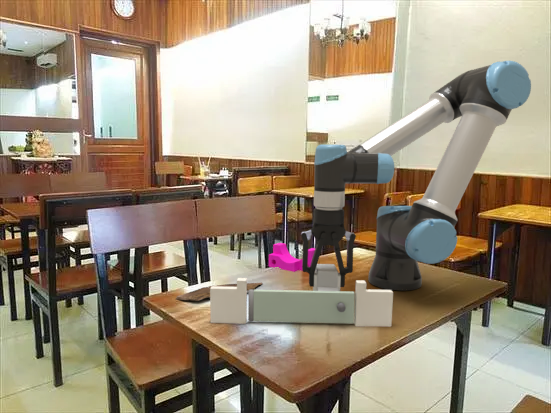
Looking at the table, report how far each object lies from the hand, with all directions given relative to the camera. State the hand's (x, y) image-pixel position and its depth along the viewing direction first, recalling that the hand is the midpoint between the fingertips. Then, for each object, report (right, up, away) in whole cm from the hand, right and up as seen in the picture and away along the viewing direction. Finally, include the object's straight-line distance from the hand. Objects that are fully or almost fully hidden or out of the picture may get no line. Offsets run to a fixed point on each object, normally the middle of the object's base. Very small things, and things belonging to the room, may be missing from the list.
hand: (326, 298), depth 106 cm
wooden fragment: (-24, -2, +6) cm, 25 cm away
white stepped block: (0, -1, 0) cm, 1 cm away
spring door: (-7, -3, -12) cm, 14 cm away
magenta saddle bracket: (-7, +2, +33) cm, 34 cm away
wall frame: (-7, -3, -11) cm, 14 cm away
